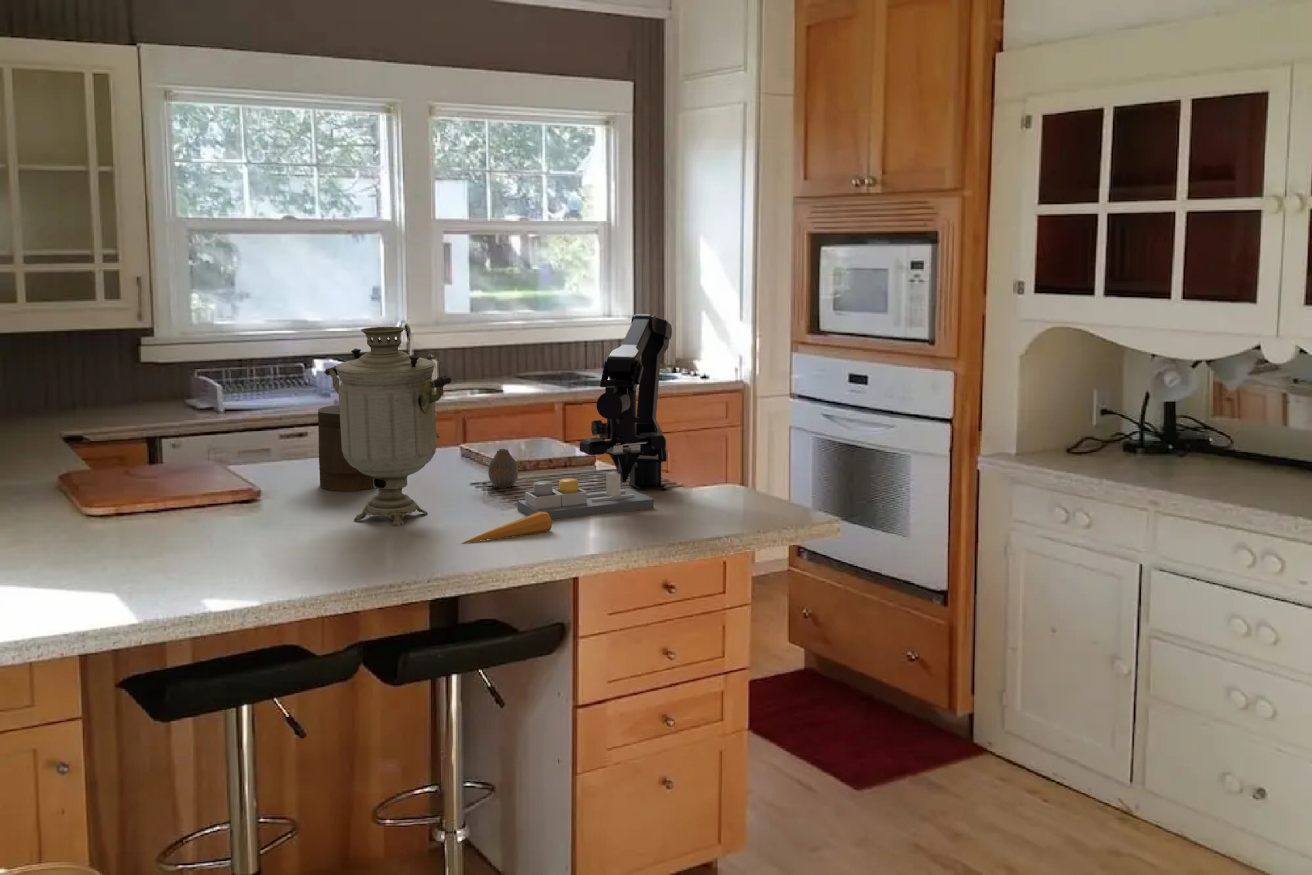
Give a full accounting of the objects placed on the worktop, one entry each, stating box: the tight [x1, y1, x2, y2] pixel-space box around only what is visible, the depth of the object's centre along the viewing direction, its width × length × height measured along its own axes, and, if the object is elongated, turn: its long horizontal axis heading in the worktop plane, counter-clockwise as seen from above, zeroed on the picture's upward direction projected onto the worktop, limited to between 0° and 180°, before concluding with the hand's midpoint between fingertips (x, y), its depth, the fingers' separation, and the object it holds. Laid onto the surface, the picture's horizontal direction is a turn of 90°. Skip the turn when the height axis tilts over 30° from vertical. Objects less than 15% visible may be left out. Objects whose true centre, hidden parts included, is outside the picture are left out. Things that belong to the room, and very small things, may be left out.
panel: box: [517, 487, 655, 521], centre depth 272 cm, size 27×12×4 cm, turn 118°
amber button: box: [558, 478, 579, 494], centre depth 270 cm, size 4×4×3 cm
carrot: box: [462, 512, 553, 544], centre depth 249 cm, size 20×4×4 cm, turn 122°
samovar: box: [323, 326, 453, 527], centre depth 262 cm, size 30×26×40 cm
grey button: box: [532, 480, 553, 497], centre depth 267 cm, size 4×4×3 cm
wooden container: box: [317, 404, 376, 492], centre depth 293 cm, size 15×15×22 cm
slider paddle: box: [605, 471, 622, 497], centre depth 274 cm, size 2×3×5 cm, turn 28°
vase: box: [487, 448, 519, 489], centre depth 293 cm, size 7×7×9 cm
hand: (623, 481), depth 275 cm, fingers closed
